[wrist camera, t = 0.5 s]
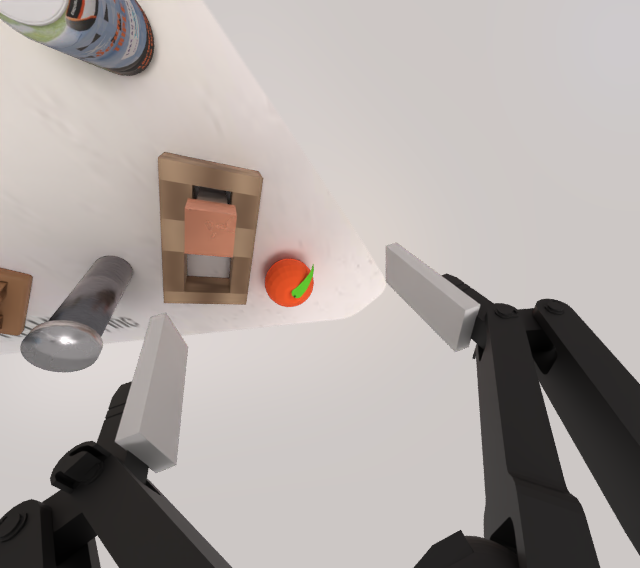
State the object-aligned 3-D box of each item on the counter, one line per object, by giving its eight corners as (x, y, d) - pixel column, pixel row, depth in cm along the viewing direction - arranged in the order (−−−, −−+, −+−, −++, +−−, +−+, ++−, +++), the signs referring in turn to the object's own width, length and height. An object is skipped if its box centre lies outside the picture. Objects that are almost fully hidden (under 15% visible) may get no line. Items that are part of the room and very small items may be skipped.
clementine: (287, 236, 38) (299, 258, 33) (319, 261, 42) (335, 285, 37) (252, 275, 40) (257, 303, 34) (286, 296, 44) (296, 325, 38)
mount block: (168, 286, 37) (163, 302, 34) (164, 152, 29) (157, 157, 26) (243, 289, 41) (246, 304, 37) (258, 171, 33) (263, 178, 29)
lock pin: (194, 210, 33) (184, 253, 23) (195, 176, 31) (184, 208, 21) (228, 215, 34) (232, 257, 25) (231, 183, 32) (236, 215, 23)
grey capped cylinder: (91, 286, 34) (29, 374, 23) (85, 250, 31) (11, 328, 20) (138, 287, 36) (102, 369, 25) (135, 253, 33) (94, 327, 22)
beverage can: (156, 87, 26) (119, 76, 16) (56, 52, 23) (-60, 13, 13) (158, 2, 23) (116, -71, 14) (45, -51, 20) (-111, -192, 11)
